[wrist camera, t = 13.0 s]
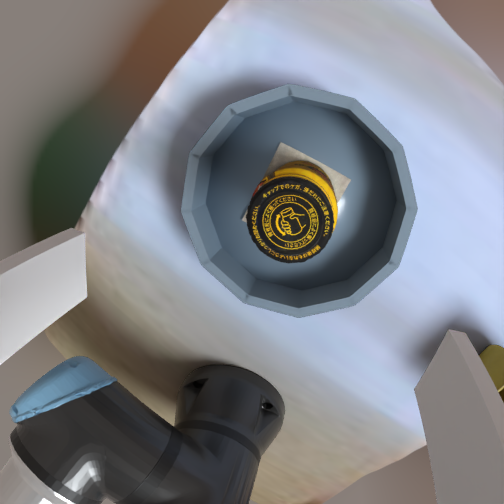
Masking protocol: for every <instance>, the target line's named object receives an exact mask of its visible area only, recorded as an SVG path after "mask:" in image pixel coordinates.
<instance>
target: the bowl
mask: <svg viewBox="0 0 504 504" xmlns="http://www.w3.org/2000/svg"><path fill="white" fill-rule="evenodd" d="M354 99H355V98H351V97H347V96H343V95H339V94H335V93H331V92H327V91H322V90H318V89H313V88H309V87H304V86H299V85H294V84H287V85H283V86H280V87H277V88H274V89H271V90H268V91H265V92H262V93H259V94H257V95H254V96H251V97H248V98H245V99H243V100H240V101H237V102H235V103H232V104H229V105H228V106H227V107H226V108H225V109H224V110H223V111H222V113H221V114H220V115H219V116H218V117H217V119H216V120H215V121H214V122H213V124H212V125H211V126H210V127H209V128H208V130H207V131H206V132H205V133H204V135H203V136H202V137H201V139H200V140H199V141H198V142H197V144H196V145H195V146H194V147H193V149H192V150H191V151H190V153H189V157H188V164H187V170H186V177H185V184H184V191H183V198H182V206H181V213H182V216H183V219H184V221H185V224H186V227H187V229H188V232H189V235H190V237H191V240H192V243H193V245H194V248H195V250H196V253H197V256H198V258H199V261H200V263H201V265H202V266H203V267H204V268H205V269H206V270H207V271H208V272H209V273H210V274H211V275H213V276H214V277H215V278H216V279H217V280H218V281H219V282H220V283H222V284H223V285H224V286H225V287H226V288H227V289H228V290H229V291H230V292H232V293H233V294H234V295H235V296H236V297H237V298H238V299H240V300H241V301H242V302H243V303H245V304H248V305H252V306H256V307H259V308H263V309H267V310H270V311H274V312H278V313H282V314H285V315H289V316H293V317H297V318H301V317H306V316H311V315H315V314H320V313H325V312H329V311H334V310H338V309H343V308H347V307H351V306H354V305H356V304H357V303H358V302H360V301H361V300H362V299H363V298H364V297H365V296H367V295H368V294H369V293H370V292H371V291H372V290H374V289H375V288H376V287H377V286H378V285H379V284H380V283H382V282H383V281H384V280H385V279H386V278H387V277H388V276H389V275H390V274H392V273H393V272H394V271H395V270H396V269H397V268H398V267H399V265H400V262H401V259H402V256H403V253H404V250H405V247H406V245H407V242H408V238H409V235H410V232H411V229H412V226H413V223H414V220H415V216H416V213H417V210H418V208H417V203H416V198H415V193H414V189H413V185H412V180H411V176H410V172H409V168H408V164H407V160H406V156H405V152H404V149H403V146H402V145H401V144H400V143H399V141H398V140H397V139H396V138H395V137H394V136H393V135H392V134H391V133H390V132H389V131H388V130H387V129H386V128H385V127H384V126H383V125H382V124H381V123H380V122H379V121H378V120H377V119H376V118H375V117H374V116H373V115H372V114H371V113H370V112H369V111H368V110H367V109H366V108H365V107H363V106H362V105H361V104H360V103H359V102H358V101H357V100H356V99H355V100H354ZM281 142H282V143H284V144H286V145H288V146H290V147H292V148H294V149H296V150H298V151H300V152H302V153H304V154H305V155H307V156H309V157H311V158H313V159H315V160H317V161H319V162H321V163H322V164H324V165H326V166H328V167H330V168H331V169H333V170H335V171H337V172H339V173H340V174H342V175H344V176H346V177H347V178H349V179H351V181H350V183H349V184H348V186H347V188H346V190H345V192H344V193H343V195H342V197H341V199H340V200H339V202H338V204H337V206H338V217H337V224H336V226H335V229H334V231H333V233H332V236H331V238H330V240H329V241H328V244H327V245H326V247H325V248H324V249H323V250H322V251H321V252H320V253H319V254H317V255H316V256H314V257H313V258H311V259H308V260H307V261H305V262H302V263H283V262H279V261H276V260H273V259H272V258H270V257H268V256H266V255H265V254H264V253H263V252H261V251H260V250H259V249H258V248H257V247H256V244H255V243H254V242H253V241H252V239H251V236H250V234H249V231H248V227H247V223H246V222H244V221H242V219H243V217H244V215H245V213H246V211H247V209H248V206H249V205H250V201H251V198H252V195H253V193H254V191H255V189H256V187H257V185H258V184H259V183H260V181H261V180H262V179H263V177H264V175H265V173H266V171H267V169H268V167H269V165H270V163H271V161H272V159H273V157H274V155H275V153H276V151H277V149H278V147H279V145H280V143H281Z"/></svg>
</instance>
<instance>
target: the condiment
mask: <svg viewBox="0 0 504 504" xmlns="http://www.w3.org/2000/svg"><path fill="white" fill-rule="evenodd" d="M350 181H351V179H349V178H347V177H346V176H344V175H342V174H340V173H339V172H337V171H335V170H333V169H331V168H330V167H328V166H326V165H324V164H322V163H321V162H319V161H317V160H315V159H313V158H311V157H309V156H307V155H305V154H304V153H302V152H300V151H298V150H296V149H294V148H292V147H290V146H288V145H286V144H284V143H282V142H281V143H280V145H279V147H278V149H277V151H276V153H275V155H274V157H273V159H272V161H271V163H270V165H269V167H268V169H267V171H266V173H265V175H264V177H263V179H262V180H261V181H260V183H259V184H258V185H257V187H256V189H255V191H254V193H253V195H252V198H251V201H250V205H249V206H248V209H247V211H246V213H245V215H244V217H243V219H242V221H244V222H246V223H247V227H248V231H249V234H250V236H251V239H252V241H253V242H254V243H255V244H256V247H257V248H258V249H259V250H260V251H261V252H263V253H264V254H265V255H266V256H268V257H270V258H272V259H273V260H276V261H279V262H283V263H302V262H305V261H307V260H308V259H311V258H313V257H314V256H316V255H317V254H319V253H320V252H321V251H322V250H323V249H324V248H325V247H326V245H327V244H328V241H329V240H330V238H331V236H332V233H333V231H334V229H335V226H336V224H337V217H338V206H337V204H338V202H339V200H340V199H341V197H342V195H343V193H344V192H345V190H346V188H347V186H348V184H349V183H350Z"/></svg>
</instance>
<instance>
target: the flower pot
mask: <svg viewBox="0 0 504 504" xmlns="http://www.w3.org/2000/svg"><path fill="white" fill-rule="evenodd" d="M479 357H480V359H481V361H482V362H483V364H484V366H485V368H486V370H487V371H488V373H489V375H490V377H491V379H492V381H493V383H494V385H495V387H496V389H497V391H498V393H499V395H500V397H501V399H502V401H503V403H504V348H503V347H501V346H499V345H489V346H488V347H487V348H486V349H485V350H484V351H483V352H482V353H481V354H480V355H479Z"/></svg>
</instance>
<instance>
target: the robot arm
mask: <svg viewBox="0 0 504 504" xmlns="http://www.w3.org/2000/svg"><path fill="white" fill-rule="evenodd" d="M85 298H87V283H86V259H85V232H82V231H79V230H75V229H72V228H70V229H68V230H66V231H63V232H61V233H59V234H56V235H54V236H52V237H50V238H47V239H45V240H43V241H41V242H38V243H36V244H34V245H32V246H30V247H28V248H26V249H23V250H21V251H20V252H17V253H15V254H13V255H11V256H9V257H7V258H5V259H3V260H1V261H0V365H1V364H2V363H3V362H4V361H6V360H7V359H8V358H9V357H10V356H12V355H13V354H14V353H15V352H17V351H18V350H19V349H20V348H21V347H23V346H24V345H25V344H26V343H28V342H29V341H30V340H31V339H33V338H34V337H35V336H37V335H38V334H39V333H40V332H42V331H43V330H44V329H46V328H47V327H48V326H49V325H51V324H52V323H53V322H55V321H56V320H57V319H59V318H60V317H61V316H62V315H64V314H65V313H66V312H68V311H69V310H70V309H72V308H73V307H74V306H76V305H77V304H78V303H80V302H81V301H82V300H84V299H85ZM414 391H415V394H416V398H417V402H418V406H419V410H420V415H421V419H422V423H423V428H424V432H425V437H426V442H427V446H428V451H429V457H430V462H431V467H432V473H433V479H434V485H435V492H436V499H437V504H504V403H503V401H502V399H501V397H500V395H499V393H498V391H497V389H496V387H495V385H494V383H493V381H492V379H491V377H490V375H489V373H488V371H487V370H486V368H485V366H484V364H483V362H482V361H481V359H480V357H479V355H478V353H477V352H476V350H475V348H474V347H473V345H472V343H471V341H470V340H469V338H468V336H467V335H466V333H464V332H460V331H455V330H451V329H448V331H447V333H446V335H445V337H444V339H443V341H442V342H441V344H440V346H439V348H438V350H437V352H436V353H435V355H434V357H433V359H432V361H431V362H430V364H429V366H428V367H427V369H426V371H425V373H424V374H423V376H422V377H421V379H420V381H419V382H418V384H417V386H416V387H415V389H414ZM284 414H285V406H284V402H283V400H282V398H281V396H280V394H279V393H278V391H277V390H276V389H275V388H274V387H273V386H272V385H271V384H270V383H269V382H267V381H266V380H265V379H263V378H261V377H260V376H258V375H256V374H254V373H252V372H250V371H247V370H244V369H241V368H238V367H233V366H227V365H211V366H205V367H201V368H199V369H197V370H195V371H193V372H192V373H190V374H189V375H188V376H187V378H186V379H185V381H184V382H183V384H182V386H181V388H180V390H179V392H178V396H177V405H176V415H175V425H174V427H173V426H172V425H171V424H169V423H168V422H167V421H165V420H164V419H163V418H161V417H160V416H159V415H158V414H156V413H155V412H154V411H152V410H151V409H150V408H149V407H147V406H146V405H145V404H144V403H142V402H141V401H140V400H139V399H138V398H136V397H135V396H134V395H133V394H132V393H130V392H129V391H128V390H127V389H126V388H124V387H123V386H122V385H121V384H120V383H119V382H118V381H117V379H116V378H115V377H112V376H110V375H109V374H108V373H107V372H106V371H104V370H103V369H102V368H101V367H100V366H98V365H97V364H96V363H95V362H94V361H93V360H91V359H90V358H88V357H84V356H76V357H72V358H70V359H68V360H66V361H64V362H62V363H61V364H59V365H57V366H56V367H55V368H53V369H52V370H50V371H49V372H47V373H46V374H45V375H43V376H42V377H41V378H40V379H38V380H37V381H36V382H35V383H34V384H32V385H31V386H30V387H29V388H28V389H27V390H26V391H25V392H24V393H23V394H22V395H21V396H20V397H19V398H18V399H17V400H16V402H15V403H14V405H13V406H11V408H10V415H11V417H12V420H13V421H14V422H15V423H17V424H18V425H17V427H16V428H15V429H14V430H13V432H12V433H11V434H10V436H9V443H10V448H11V452H12V457H11V458H10V459H9V461H8V462H7V463H6V464H5V466H4V467H3V468H2V470H1V471H0V504H101V503H102V501H103V500H104V499H106V498H107V499H109V500H111V501H113V502H114V503H116V504H249V500H250V497H251V493H252V489H253V486H254V482H255V478H256V474H257V470H258V466H259V462H260V459H261V456H262V455H263V453H264V452H265V451H266V449H267V448H268V447H269V445H270V444H271V443H272V441H273V440H274V438H275V437H276V436H277V434H278V433H279V431H280V429H281V427H282V424H283V419H284Z"/></svg>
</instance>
